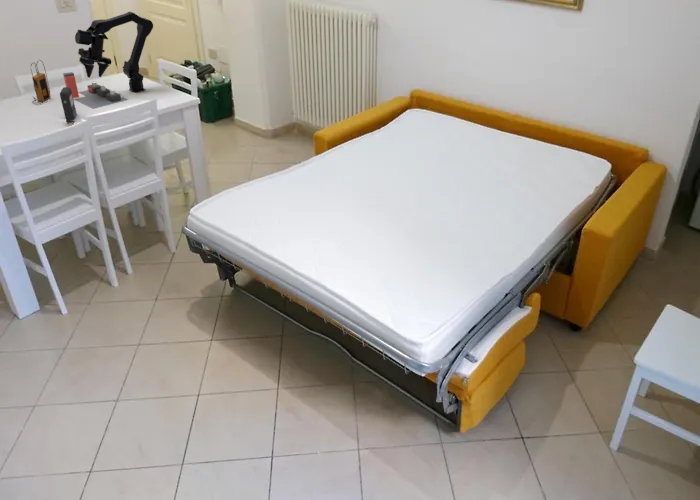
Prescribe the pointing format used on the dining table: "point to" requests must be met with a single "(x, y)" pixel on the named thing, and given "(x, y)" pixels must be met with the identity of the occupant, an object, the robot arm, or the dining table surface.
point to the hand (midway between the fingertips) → (94, 77)
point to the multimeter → (41, 86)
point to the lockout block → (71, 83)
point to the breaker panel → (98, 96)
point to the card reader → (68, 104)
